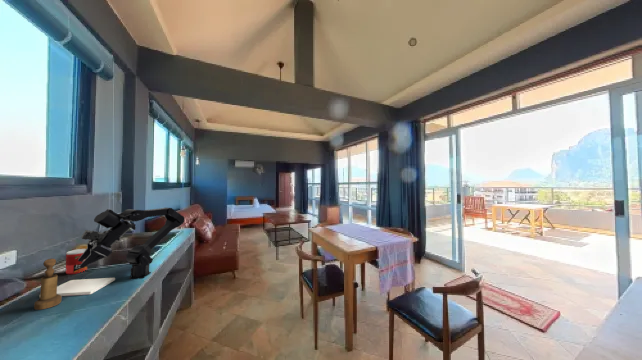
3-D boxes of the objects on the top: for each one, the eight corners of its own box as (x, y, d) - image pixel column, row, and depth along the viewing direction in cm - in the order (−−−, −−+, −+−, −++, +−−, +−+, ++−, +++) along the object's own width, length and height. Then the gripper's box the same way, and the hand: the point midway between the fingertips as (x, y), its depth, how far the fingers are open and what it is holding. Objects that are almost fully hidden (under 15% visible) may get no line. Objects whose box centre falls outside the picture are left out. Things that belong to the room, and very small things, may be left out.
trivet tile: (114, 280, 102) (114, 277, 102) (90, 294, 89) (90, 291, 89) (71, 282, 98) (71, 280, 98) (39, 297, 86) (39, 294, 86)
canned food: (75, 275, 106) (76, 253, 106) (60, 274, 106) (61, 253, 107) (92, 268, 114) (92, 248, 114) (78, 268, 114) (78, 248, 114)
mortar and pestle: (65, 302, 83) (66, 257, 83) (38, 311, 77) (40, 263, 77) (56, 298, 85) (58, 255, 85) (30, 307, 79) (32, 260, 79)
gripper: (94, 219, 97) (57, 249, 89) (100, 226, 86) (58, 260, 78) (117, 232, 104) (85, 261, 95) (126, 240, 93) (90, 273, 84)
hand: (79, 264), depth 88 cm, fingers open, 9 cm apart
